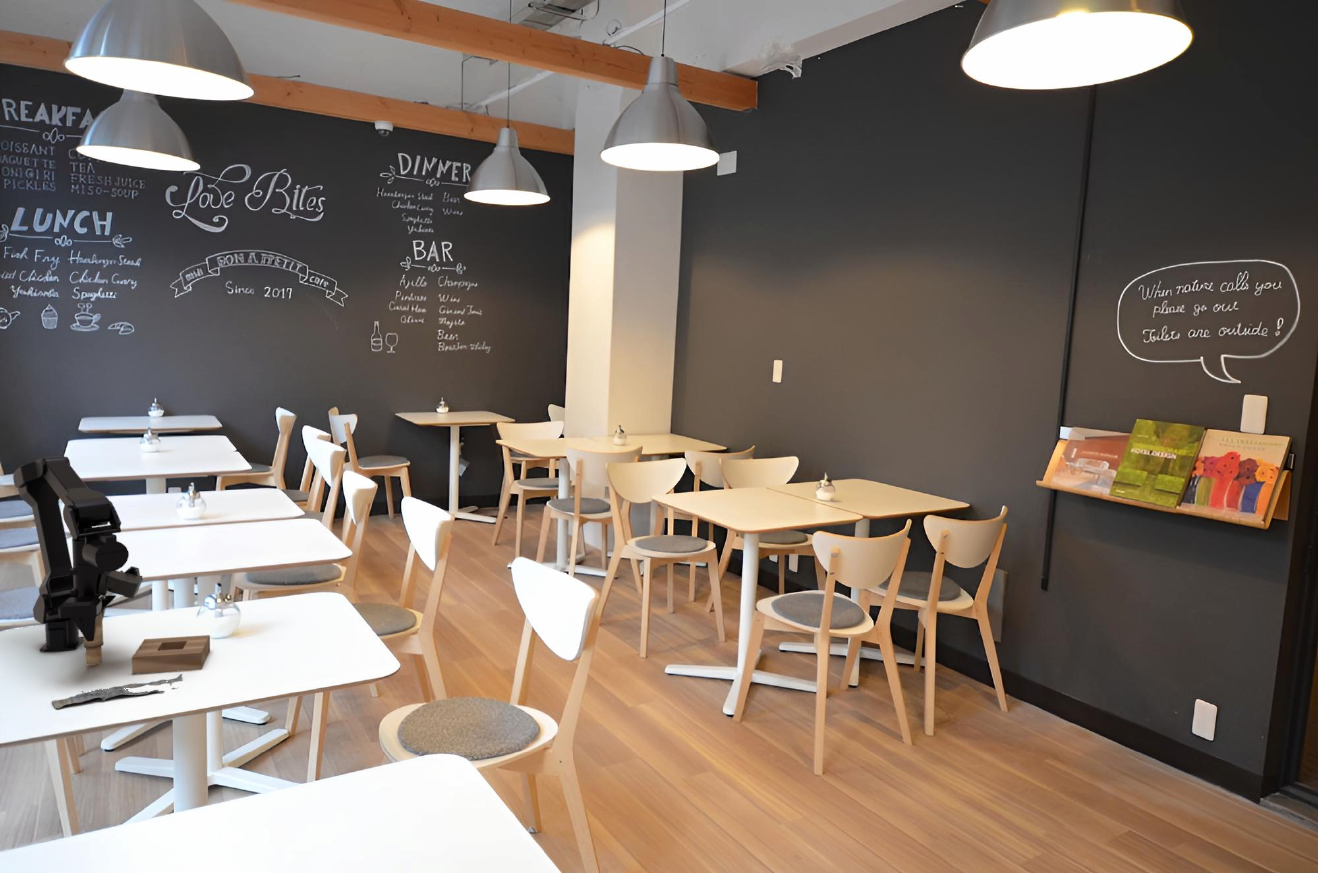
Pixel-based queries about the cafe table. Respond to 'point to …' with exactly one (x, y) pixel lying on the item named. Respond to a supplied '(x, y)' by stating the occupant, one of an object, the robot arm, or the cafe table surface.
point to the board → (171, 654)
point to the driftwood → (112, 692)
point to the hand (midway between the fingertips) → (93, 638)
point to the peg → (95, 644)
